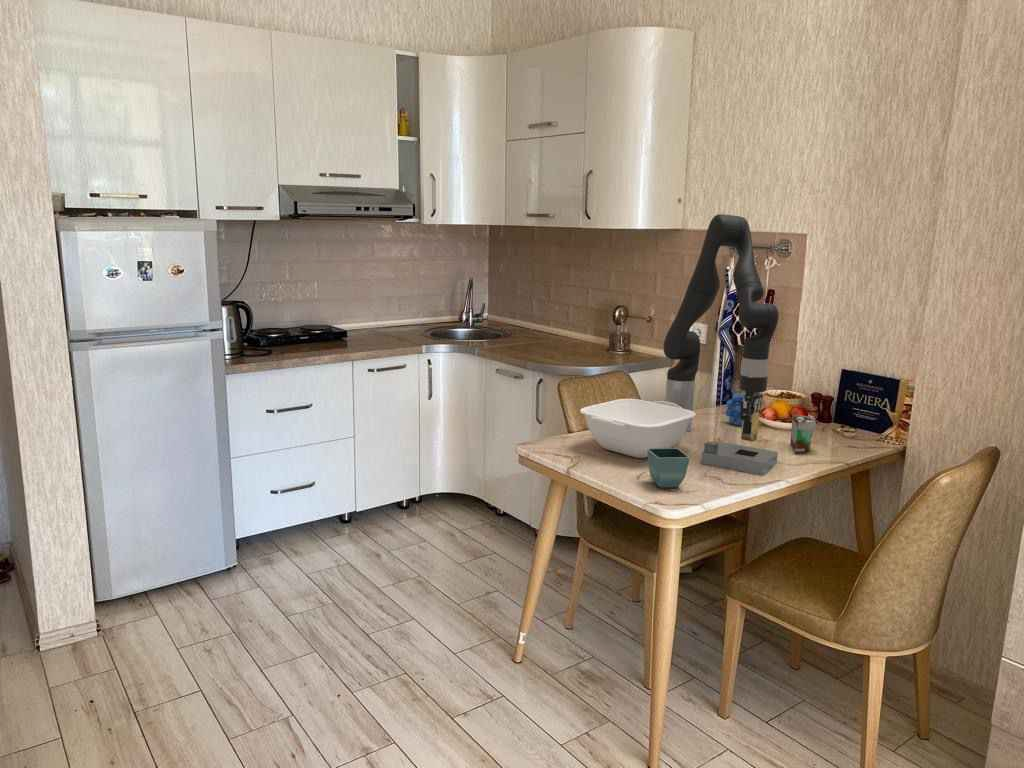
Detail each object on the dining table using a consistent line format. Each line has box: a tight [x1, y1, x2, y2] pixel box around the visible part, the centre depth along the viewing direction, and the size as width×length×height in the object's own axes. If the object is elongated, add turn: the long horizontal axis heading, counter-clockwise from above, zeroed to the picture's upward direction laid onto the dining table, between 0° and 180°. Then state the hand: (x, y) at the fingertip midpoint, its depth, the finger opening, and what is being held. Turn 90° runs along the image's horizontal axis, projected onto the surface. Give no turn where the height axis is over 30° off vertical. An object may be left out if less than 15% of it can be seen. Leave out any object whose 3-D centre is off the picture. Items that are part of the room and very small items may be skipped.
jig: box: [700, 440, 779, 476], centre depth 226 cm, size 18×14×6 cm
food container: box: [789, 413, 817, 455], centre depth 241 cm, size 12×6×10 cm, turn 168°
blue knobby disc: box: [724, 392, 746, 427], centre depth 269 cm, size 12×7×12 cm, turn 39°
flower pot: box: [647, 447, 690, 489], centre depth 206 cm, size 9×9×9 cm
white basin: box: [579, 398, 697, 459], centre depth 237 cm, size 34×28×13 cm
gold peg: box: [740, 411, 760, 442], centre depth 223 cm, size 4×4×8 cm
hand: (749, 431), depth 224 cm, fingers closed on gold peg, 4 cm apart
